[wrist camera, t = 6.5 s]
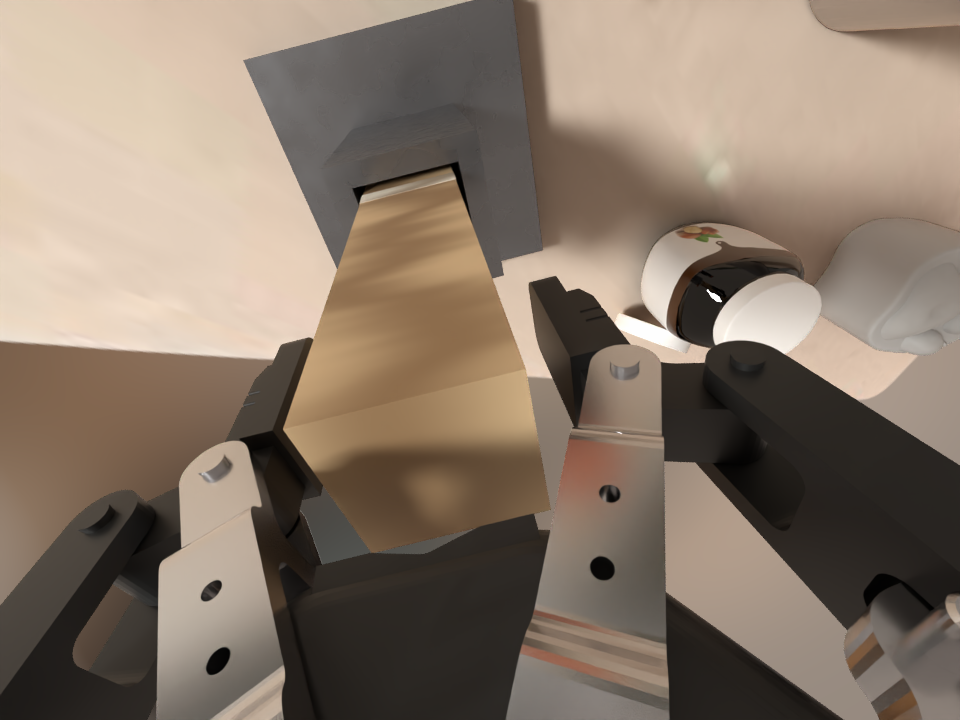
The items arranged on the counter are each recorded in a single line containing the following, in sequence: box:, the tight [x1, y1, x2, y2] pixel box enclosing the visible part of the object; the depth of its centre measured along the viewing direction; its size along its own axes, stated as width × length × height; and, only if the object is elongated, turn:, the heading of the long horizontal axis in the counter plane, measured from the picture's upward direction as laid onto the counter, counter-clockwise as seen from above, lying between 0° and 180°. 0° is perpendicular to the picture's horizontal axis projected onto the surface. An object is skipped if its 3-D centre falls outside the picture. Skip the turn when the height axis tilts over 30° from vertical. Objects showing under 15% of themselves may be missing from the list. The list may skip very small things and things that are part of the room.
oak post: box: [283, 164, 551, 553], centre depth 16 cm, size 4×4×20 cm
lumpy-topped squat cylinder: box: [813, 218, 960, 356], centre depth 38 cm, size 10×13×9 cm
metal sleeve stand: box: [243, 0, 543, 278], centre depth 25 cm, size 16×16×14 cm
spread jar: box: [614, 222, 822, 354], centre depth 34 cm, size 12×11×12 cm
